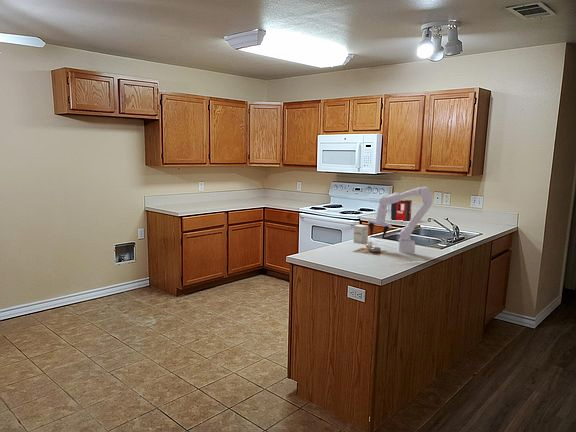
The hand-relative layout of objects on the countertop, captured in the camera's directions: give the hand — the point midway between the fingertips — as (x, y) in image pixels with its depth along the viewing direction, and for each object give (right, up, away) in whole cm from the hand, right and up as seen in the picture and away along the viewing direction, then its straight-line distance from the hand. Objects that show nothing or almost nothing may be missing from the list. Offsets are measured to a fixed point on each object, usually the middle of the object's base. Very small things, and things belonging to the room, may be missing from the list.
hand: (377, 236), depth 277 cm
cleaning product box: (+49, +8, +130) cm, 139 cm away
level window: (-11, -9, 0) cm, 14 cm away
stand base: (-5, -10, -3) cm, 12 cm away
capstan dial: (-4, -9, -2) cm, 10 cm away
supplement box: (-6, -6, +28) cm, 29 cm away
